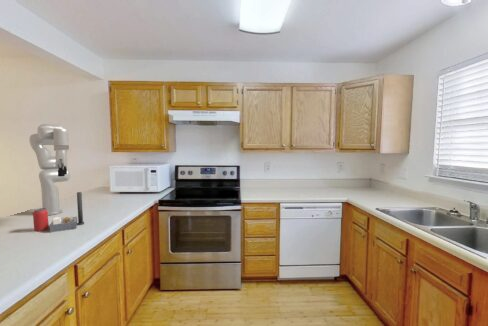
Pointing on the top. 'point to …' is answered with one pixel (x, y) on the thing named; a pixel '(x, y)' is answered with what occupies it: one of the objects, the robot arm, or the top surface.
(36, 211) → the beer can
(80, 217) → the post
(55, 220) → the white block
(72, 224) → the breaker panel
